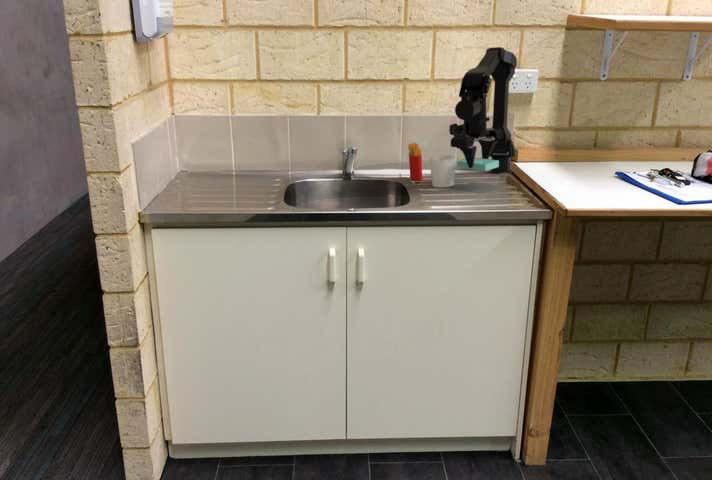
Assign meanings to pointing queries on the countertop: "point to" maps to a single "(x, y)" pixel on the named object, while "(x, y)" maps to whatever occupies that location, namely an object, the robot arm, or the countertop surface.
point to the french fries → (415, 162)
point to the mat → (478, 187)
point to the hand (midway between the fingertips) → (477, 165)
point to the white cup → (442, 170)
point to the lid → (479, 164)
